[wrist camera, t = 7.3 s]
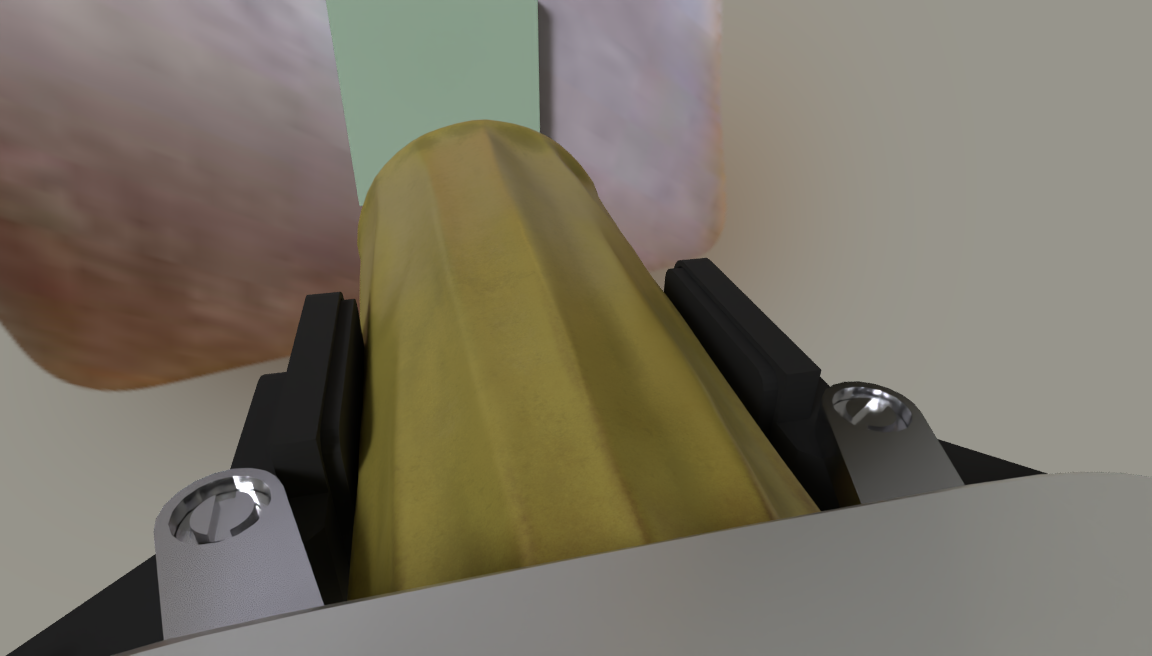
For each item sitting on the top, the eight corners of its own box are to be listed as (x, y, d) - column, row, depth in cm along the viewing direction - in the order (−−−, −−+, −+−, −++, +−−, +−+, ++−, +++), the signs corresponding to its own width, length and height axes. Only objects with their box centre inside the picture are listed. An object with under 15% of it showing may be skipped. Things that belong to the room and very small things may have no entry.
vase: (301, 207, 15) (-79, 1246, 3) (527, 64, 15) (1138, 595, 3) (451, 381, 18) (556, 1210, 6) (638, 269, 18) (1133, 920, 6)
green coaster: (327, -3, 28) (325, -1, 27) (533, -3, 30) (537, -2, 29) (360, 199, 32) (359, 205, 32) (537, 187, 34) (540, 193, 33)
